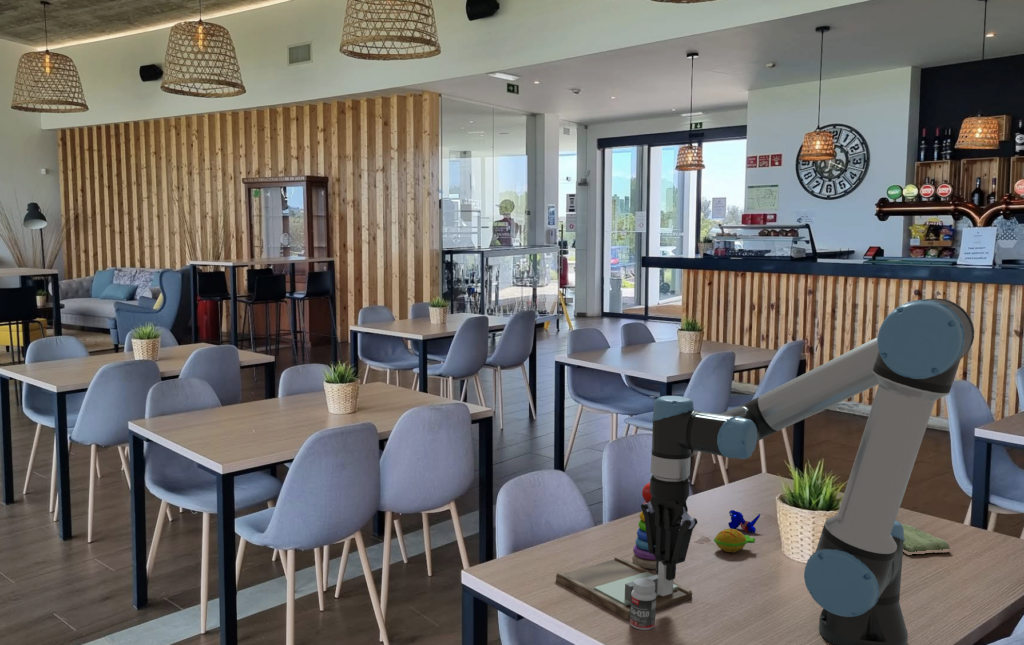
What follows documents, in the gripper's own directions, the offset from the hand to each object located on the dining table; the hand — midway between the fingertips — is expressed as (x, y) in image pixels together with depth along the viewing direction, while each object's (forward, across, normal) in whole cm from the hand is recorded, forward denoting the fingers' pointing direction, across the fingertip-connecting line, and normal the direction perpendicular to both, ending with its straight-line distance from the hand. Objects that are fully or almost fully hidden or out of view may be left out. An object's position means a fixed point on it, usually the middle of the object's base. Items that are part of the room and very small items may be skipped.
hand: (664, 593), depth 160 cm
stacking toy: (+4, +19, -15) cm, 24 cm away
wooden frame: (+4, +12, 0) cm, 13 cm away
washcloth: (+4, -6, -79) cm, 79 cm away
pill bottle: (+4, -2, +8) cm, 9 cm away
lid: (+2, +8, 0) cm, 8 cm away
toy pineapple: (+4, +14, -38) cm, 41 cm away
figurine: (+4, +22, -52) cm, 57 cm away
